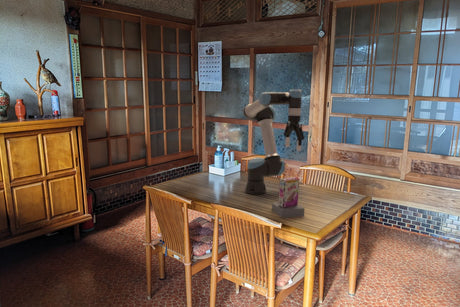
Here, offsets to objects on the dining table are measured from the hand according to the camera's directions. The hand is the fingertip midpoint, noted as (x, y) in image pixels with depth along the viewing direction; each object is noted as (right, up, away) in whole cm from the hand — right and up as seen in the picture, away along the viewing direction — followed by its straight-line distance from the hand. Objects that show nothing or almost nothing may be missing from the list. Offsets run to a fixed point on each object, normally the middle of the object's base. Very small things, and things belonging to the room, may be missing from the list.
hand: (293, 149), depth 220 cm
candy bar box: (-5, -34, -14) cm, 37 cm away
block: (-5, -38, -13) cm, 41 cm away
